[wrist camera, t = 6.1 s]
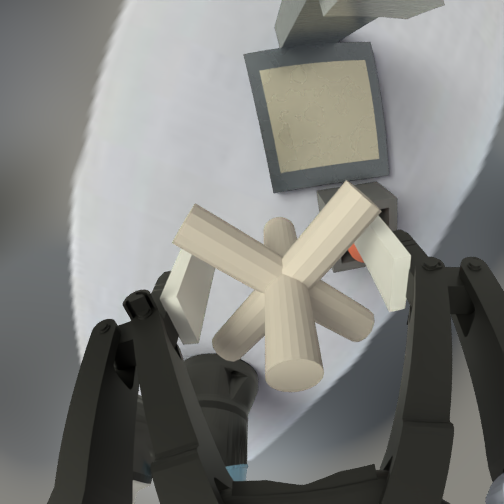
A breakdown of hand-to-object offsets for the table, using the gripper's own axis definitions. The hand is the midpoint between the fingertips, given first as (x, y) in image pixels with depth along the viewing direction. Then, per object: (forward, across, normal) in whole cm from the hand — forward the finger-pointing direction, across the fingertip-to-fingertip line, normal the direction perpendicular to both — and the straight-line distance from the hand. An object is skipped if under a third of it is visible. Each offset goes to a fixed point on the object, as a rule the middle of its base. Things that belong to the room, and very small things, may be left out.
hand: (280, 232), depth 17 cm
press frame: (+18, -7, -6) cm, 20 cm away
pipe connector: (0, 0, 0) cm, 0 cm away
